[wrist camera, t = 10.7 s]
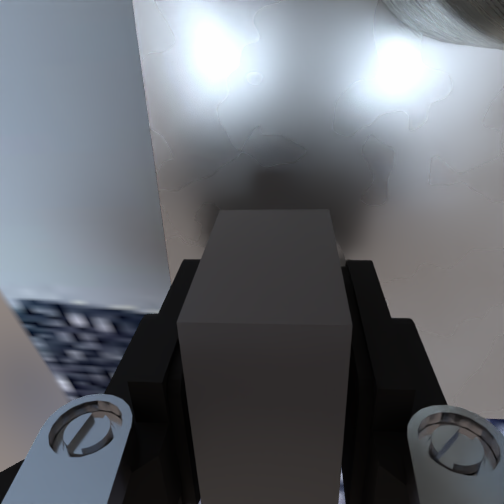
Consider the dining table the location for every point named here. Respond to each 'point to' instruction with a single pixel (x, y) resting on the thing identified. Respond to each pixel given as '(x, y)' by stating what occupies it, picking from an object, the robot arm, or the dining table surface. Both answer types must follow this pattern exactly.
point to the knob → (267, 359)
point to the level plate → (347, 148)
